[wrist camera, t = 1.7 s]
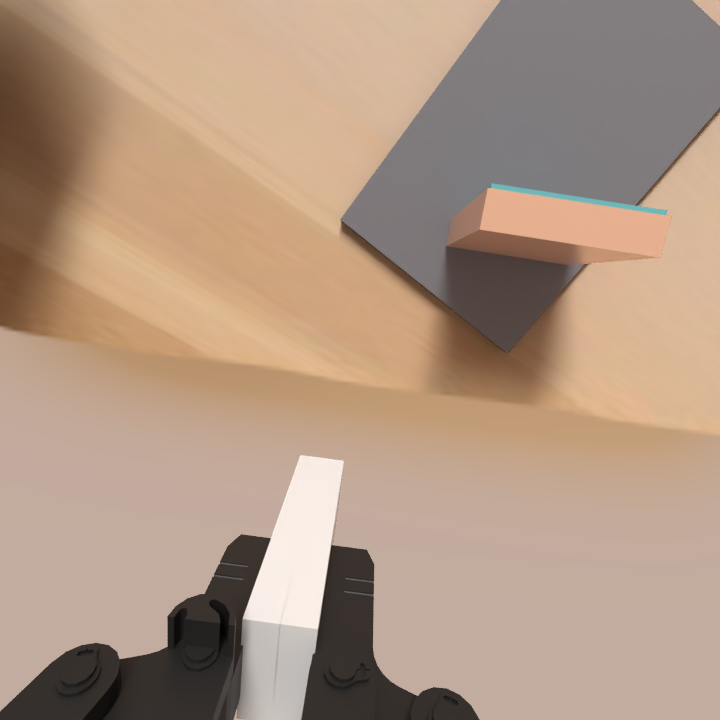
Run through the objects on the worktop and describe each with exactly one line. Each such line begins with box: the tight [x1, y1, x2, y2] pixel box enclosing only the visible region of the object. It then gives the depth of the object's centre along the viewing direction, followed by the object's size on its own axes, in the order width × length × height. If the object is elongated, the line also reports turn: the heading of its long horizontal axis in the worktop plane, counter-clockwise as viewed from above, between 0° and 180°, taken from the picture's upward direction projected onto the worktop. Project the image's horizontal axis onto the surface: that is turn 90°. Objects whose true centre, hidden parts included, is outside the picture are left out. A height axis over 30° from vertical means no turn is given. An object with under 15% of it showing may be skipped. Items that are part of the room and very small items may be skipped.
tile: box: [446, 183, 672, 265], centre depth 30 cm, size 2×10×12 cm, turn 81°
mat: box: [340, 0, 720, 353], centre depth 35 cm, size 18×28×1 cm, turn 142°
